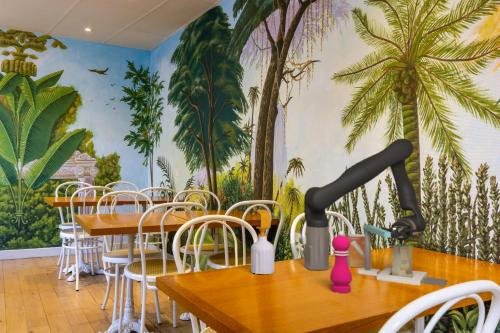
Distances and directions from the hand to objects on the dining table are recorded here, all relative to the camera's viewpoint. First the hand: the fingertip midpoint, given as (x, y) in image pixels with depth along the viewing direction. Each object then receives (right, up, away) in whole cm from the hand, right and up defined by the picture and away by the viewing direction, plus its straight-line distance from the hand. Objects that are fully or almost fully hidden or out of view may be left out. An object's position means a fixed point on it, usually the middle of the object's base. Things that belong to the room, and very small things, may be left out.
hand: (393, 235), depth 147 cm
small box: (-4, -18, +32) cm, 37 cm away
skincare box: (+8, -18, +13) cm, 23 cm away
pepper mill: (-19, -18, -4) cm, 27 cm away
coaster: (+17, -18, +7) cm, 26 cm away
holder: (+4, -18, +15) cm, 24 cm away
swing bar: (-3, -1, +11) cm, 11 cm away
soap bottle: (-45, -18, +21) cm, 53 cm away
